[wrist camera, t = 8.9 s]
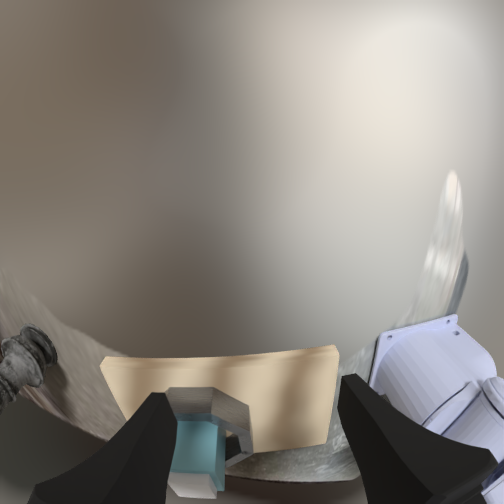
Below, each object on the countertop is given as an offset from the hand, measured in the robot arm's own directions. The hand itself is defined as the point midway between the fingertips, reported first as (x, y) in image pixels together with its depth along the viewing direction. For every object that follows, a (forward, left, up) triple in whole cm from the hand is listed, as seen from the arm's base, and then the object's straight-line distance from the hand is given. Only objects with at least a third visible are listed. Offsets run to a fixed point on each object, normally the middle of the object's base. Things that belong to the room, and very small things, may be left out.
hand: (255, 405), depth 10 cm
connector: (+5, +12, -9) cm, 15 cm away
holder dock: (+3, +12, -10) cm, 16 cm away
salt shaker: (+22, +5, -11) cm, 25 cm away
